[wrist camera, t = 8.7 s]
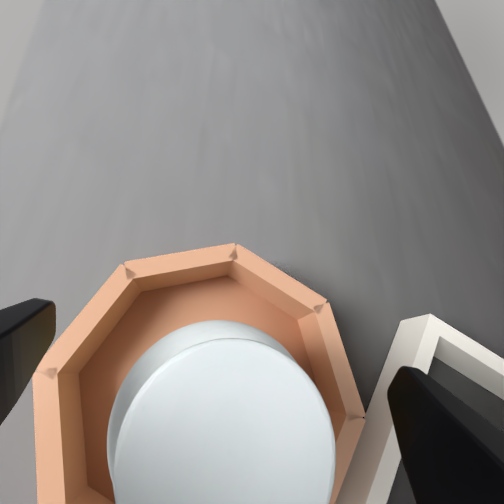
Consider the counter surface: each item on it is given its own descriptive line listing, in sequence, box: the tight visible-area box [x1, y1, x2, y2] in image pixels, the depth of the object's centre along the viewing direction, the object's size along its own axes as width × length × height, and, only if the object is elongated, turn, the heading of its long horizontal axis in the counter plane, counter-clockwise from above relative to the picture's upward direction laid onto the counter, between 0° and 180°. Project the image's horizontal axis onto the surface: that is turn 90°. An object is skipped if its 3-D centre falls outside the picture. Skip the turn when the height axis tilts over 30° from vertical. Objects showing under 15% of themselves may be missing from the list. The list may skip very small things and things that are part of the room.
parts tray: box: [335, 314, 504, 504], centre depth 15 cm, size 12×12×2 cm
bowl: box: [32, 243, 366, 504], centre depth 14 cm, size 12×12×4 cm
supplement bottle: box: [107, 320, 336, 504], centre depth 10 cm, size 5×5×10 cm
